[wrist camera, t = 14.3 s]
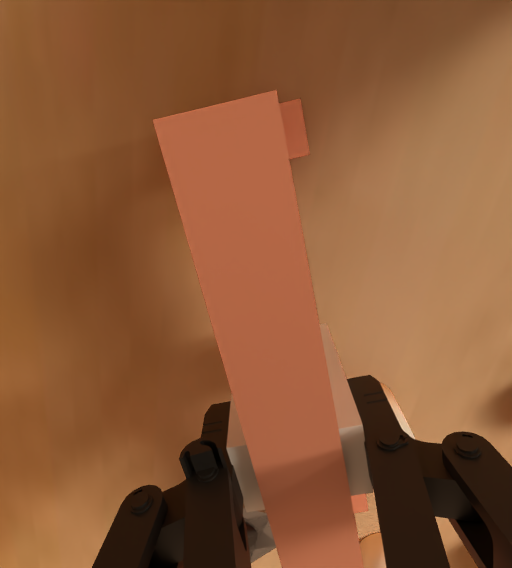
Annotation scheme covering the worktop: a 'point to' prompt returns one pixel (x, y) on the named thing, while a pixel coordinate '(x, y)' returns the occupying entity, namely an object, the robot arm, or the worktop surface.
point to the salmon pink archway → (266, 314)
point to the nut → (258, 533)
